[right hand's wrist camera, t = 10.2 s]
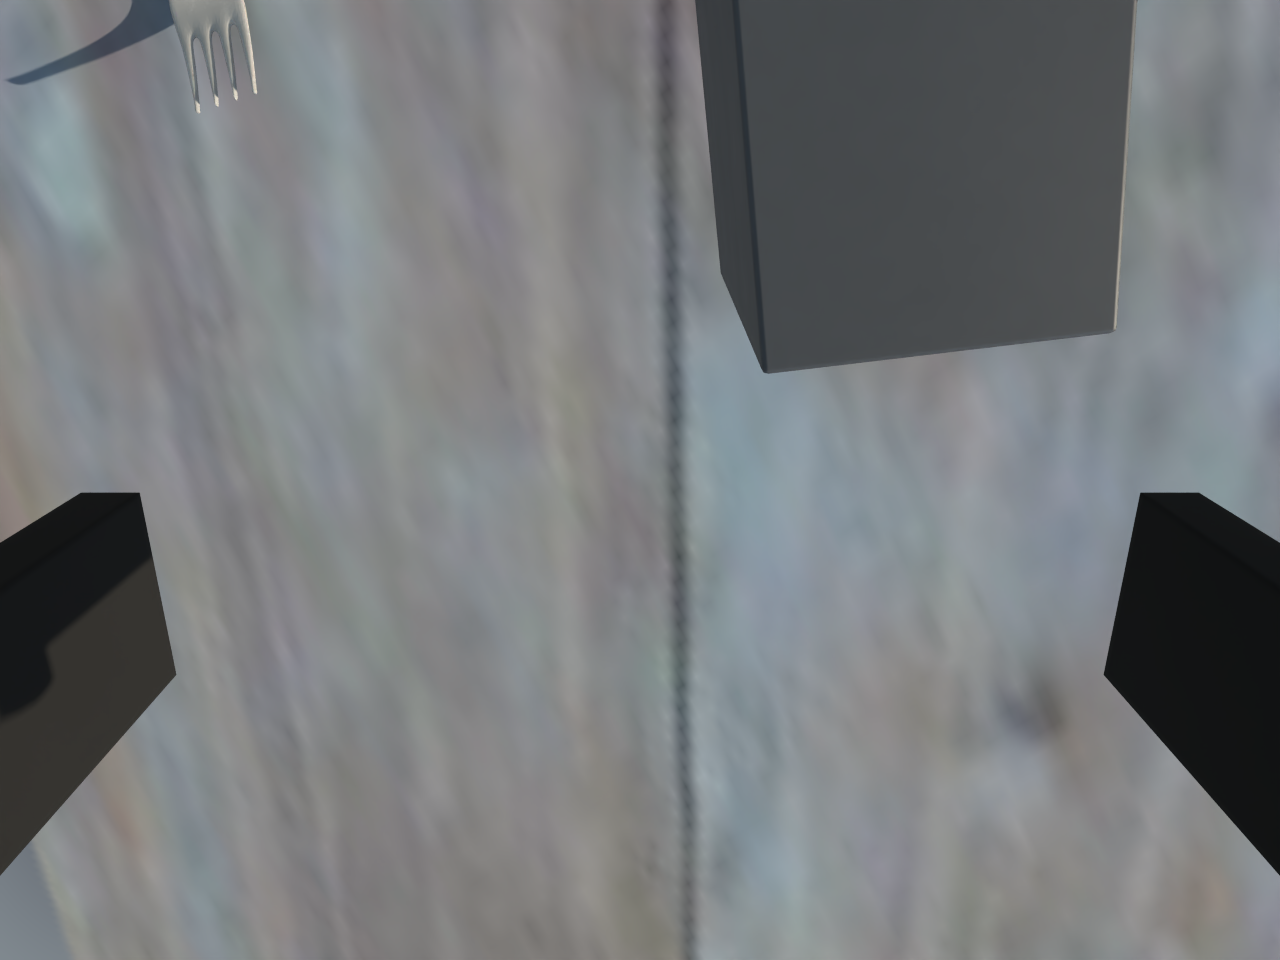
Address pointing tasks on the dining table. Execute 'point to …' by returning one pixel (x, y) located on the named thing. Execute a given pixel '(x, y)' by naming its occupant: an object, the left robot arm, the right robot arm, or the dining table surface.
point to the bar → (917, 171)
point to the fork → (199, 11)
